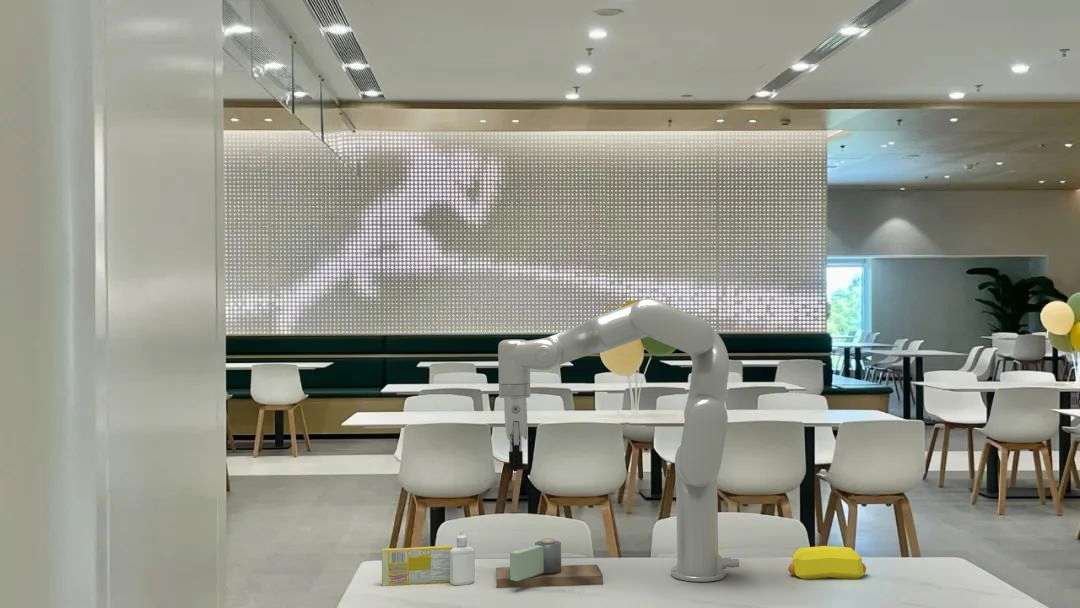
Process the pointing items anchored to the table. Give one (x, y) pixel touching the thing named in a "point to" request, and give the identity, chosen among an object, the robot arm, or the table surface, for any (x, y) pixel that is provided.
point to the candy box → (416, 565)
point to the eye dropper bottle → (462, 562)
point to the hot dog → (826, 563)
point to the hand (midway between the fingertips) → (516, 468)
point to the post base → (553, 577)
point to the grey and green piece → (536, 559)
